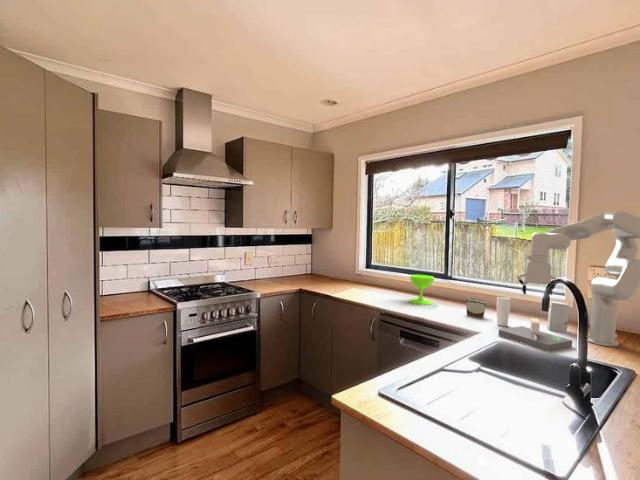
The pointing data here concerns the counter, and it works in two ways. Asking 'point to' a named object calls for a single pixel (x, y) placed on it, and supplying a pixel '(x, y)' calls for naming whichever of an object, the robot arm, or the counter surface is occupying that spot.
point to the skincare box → (558, 316)
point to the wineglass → (421, 287)
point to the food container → (475, 307)
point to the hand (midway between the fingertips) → (536, 295)
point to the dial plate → (542, 341)
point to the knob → (534, 327)
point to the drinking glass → (503, 310)
